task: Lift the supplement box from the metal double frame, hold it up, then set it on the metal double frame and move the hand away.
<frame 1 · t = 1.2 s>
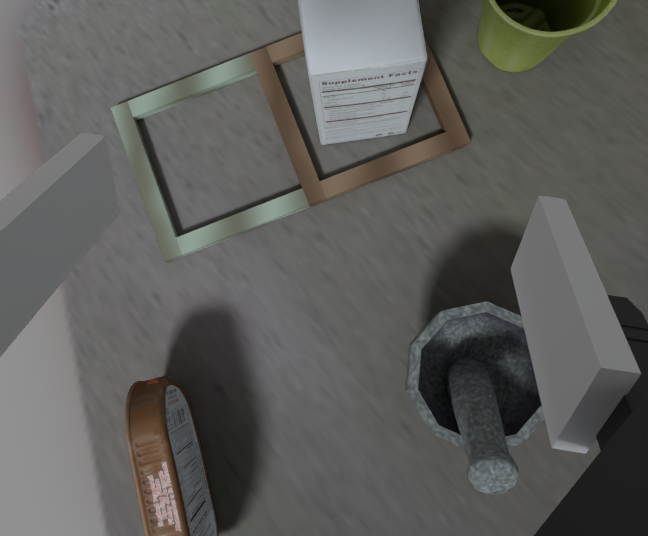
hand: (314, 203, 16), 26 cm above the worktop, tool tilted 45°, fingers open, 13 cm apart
tin: (193, 466, 42), on the worktop
plant pot: (512, 40, 44), on the worktop
supplement box: (357, 101, 44), resting in metal double frame
metal double frame: (279, 131, 44), on the worktop
mortar and pestle: (458, 377, 41), on the worktop
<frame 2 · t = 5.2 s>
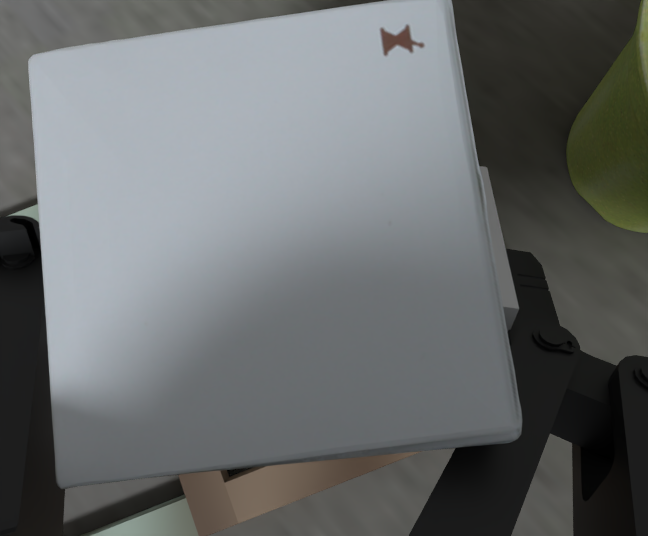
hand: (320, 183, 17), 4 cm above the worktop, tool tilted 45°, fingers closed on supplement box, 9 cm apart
plant pot: (639, 161, 21), on the worktop
supplement box: (312, 289, 21), resting in metal double frame, touching gripper
metal double frame: (145, 354, 21), on the worktop
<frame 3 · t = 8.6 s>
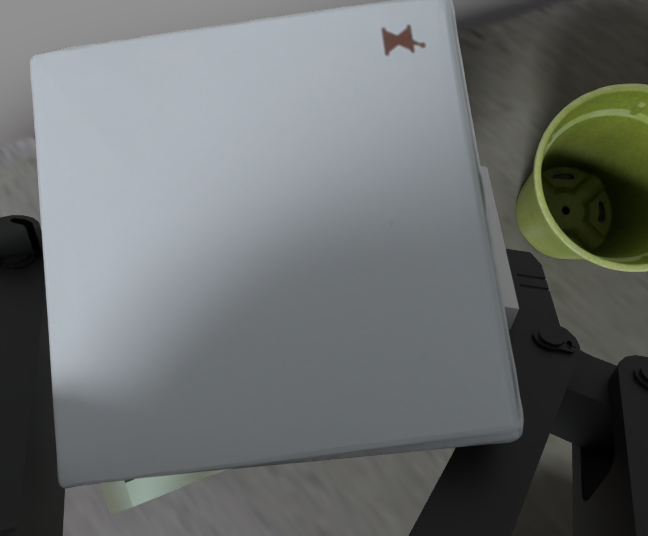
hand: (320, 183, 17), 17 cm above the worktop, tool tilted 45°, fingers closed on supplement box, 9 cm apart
plant pot: (561, 214, 34), on the worktop
supplement box: (313, 289, 21), point 13 cm above the worktop, touching gripper
metal double frame: (261, 334, 34), on the worktop
when the fingers open (5 cm above the worktop, at t = 12.0 s): supplement box drops 2 cm, resting in metal double frame.
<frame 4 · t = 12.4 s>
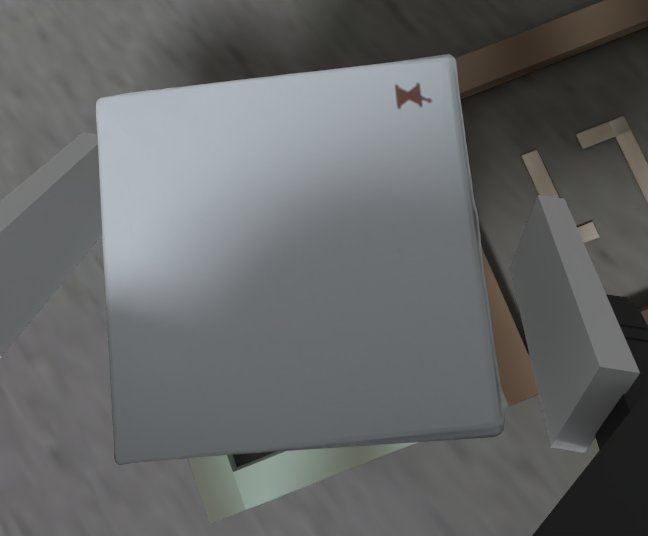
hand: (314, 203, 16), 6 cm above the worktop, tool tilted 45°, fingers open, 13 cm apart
supplement box: (321, 295, 22), resting in metal double frame
metal double frame: (435, 244, 22), on the worktop
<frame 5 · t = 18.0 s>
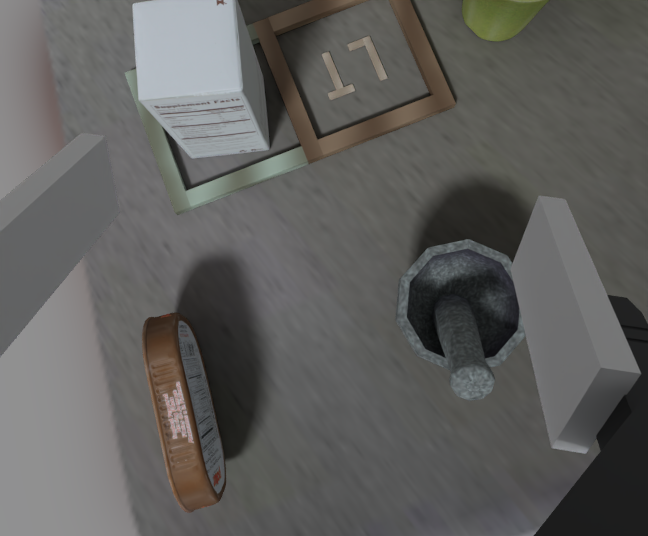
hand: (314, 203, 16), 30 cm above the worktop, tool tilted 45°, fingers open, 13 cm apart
tin: (201, 400, 45), on the worktop
plant pot: (494, 13, 48), on the worktop
supplement box: (228, 119, 48), resting in metal double frame
metal double frame: (280, 94, 48), on the worktop
mortar and pestle: (444, 317, 45), on the worktop
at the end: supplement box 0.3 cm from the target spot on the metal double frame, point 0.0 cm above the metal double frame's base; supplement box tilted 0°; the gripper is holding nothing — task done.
